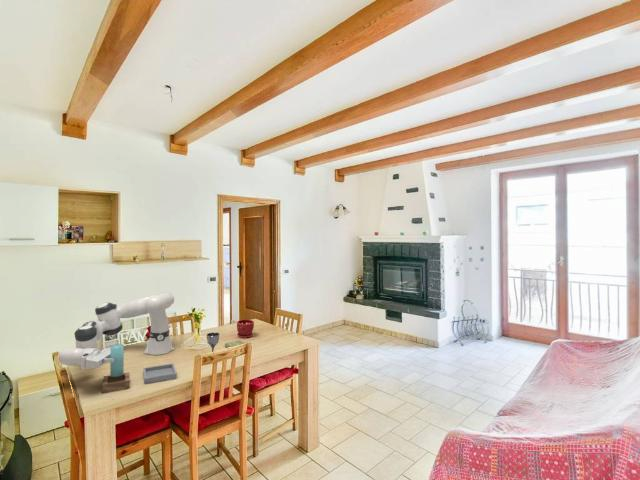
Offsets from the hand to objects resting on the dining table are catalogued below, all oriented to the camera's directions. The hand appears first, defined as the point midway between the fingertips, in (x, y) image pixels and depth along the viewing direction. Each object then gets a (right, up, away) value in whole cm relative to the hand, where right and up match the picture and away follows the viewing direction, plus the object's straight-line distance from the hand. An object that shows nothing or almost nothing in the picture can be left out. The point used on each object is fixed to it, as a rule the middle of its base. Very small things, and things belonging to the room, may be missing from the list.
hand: (118, 357), depth 179 cm
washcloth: (+47, -16, +64) cm, 81 cm away
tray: (+15, -15, +14) cm, 26 cm away
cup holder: (-1, -15, 0) cm, 15 cm away
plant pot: (+47, -15, +90) cm, 102 cm away
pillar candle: (-1, -9, 0) cm, 9 cm away
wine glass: (+35, -15, +45) cm, 59 cm away
